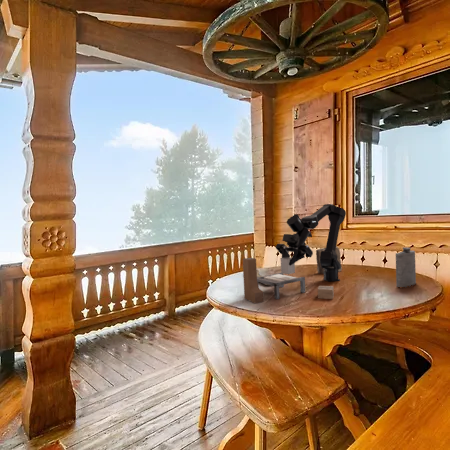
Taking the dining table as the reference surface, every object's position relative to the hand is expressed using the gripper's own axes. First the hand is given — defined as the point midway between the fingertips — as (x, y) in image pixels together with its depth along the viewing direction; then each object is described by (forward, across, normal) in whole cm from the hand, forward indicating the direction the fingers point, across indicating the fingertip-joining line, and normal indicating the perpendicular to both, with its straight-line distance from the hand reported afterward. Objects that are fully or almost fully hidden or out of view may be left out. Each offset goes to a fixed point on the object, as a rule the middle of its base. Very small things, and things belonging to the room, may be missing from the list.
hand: (285, 264), depth 144 cm
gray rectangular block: (+2, 0, +4) cm, 4 cm away
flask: (-24, +32, +44) cm, 59 cm away
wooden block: (+23, -2, -4) cm, 23 cm away
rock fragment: (+2, -30, +18) cm, 35 cm away
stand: (+5, +17, +14) cm, 22 cm away
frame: (+11, -3, +8) cm, 14 cm away
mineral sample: (-27, -13, +47) cm, 56 cm away
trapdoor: (+8, -3, +5) cm, 10 cm away
